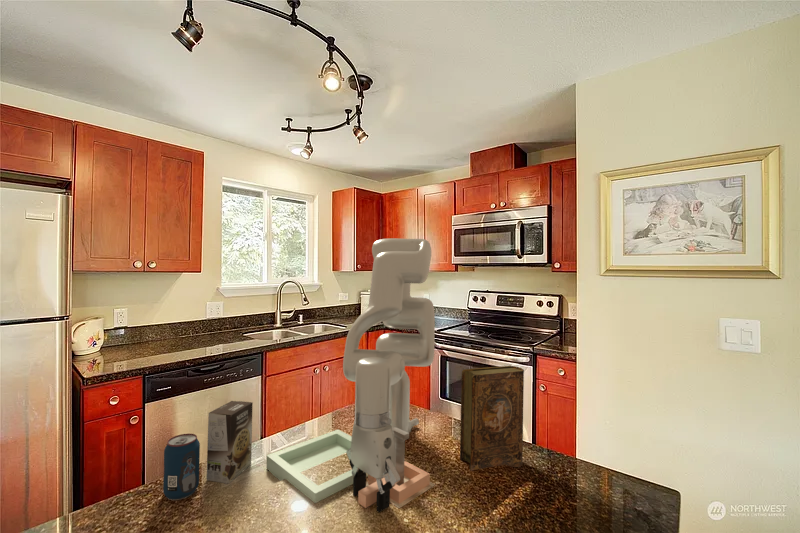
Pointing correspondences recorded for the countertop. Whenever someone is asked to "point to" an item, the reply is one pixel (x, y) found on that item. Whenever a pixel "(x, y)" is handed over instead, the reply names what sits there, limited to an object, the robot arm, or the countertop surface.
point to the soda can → (181, 466)
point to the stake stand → (400, 453)
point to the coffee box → (229, 441)
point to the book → (492, 416)
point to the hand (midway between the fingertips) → (370, 500)
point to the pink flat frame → (396, 486)
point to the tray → (312, 464)
